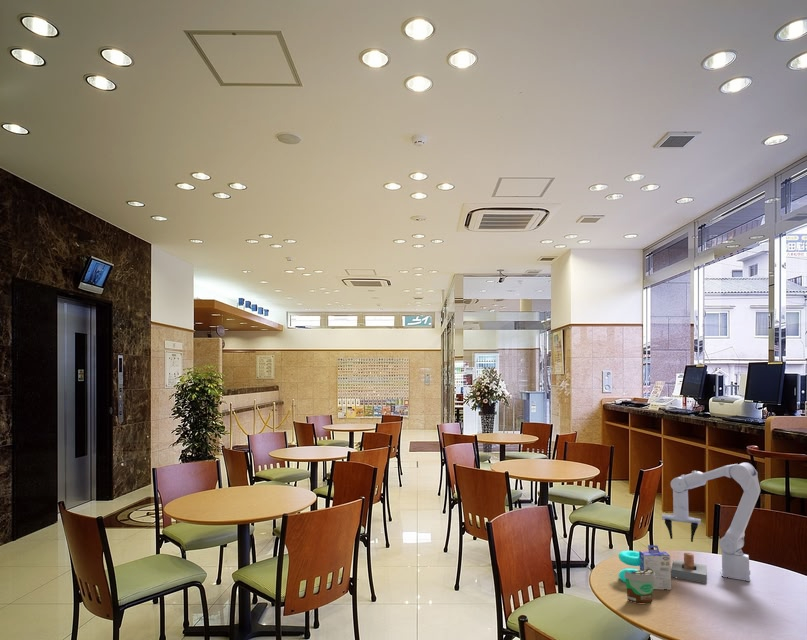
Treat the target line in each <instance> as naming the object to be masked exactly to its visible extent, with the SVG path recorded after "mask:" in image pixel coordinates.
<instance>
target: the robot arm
mask: <svg viewBox="0 0 807 640" xmlns="http://www.w3.org/2000/svg"><path fill="white" fill-rule="evenodd" d="M758 473H759V472H758V471H757V469H755V467H754V466H753V464H751V463H749V462H741V463H739V464H738V463H734V464H733V463H732V464H727V465H723V466H721V467H718V468H715V469H712V470H708V471H705V472H702V471H699V470H692V471H691V473H688V474H681V475H680V476H677V477H674V478H673V479H672V480H671V481H670V488H671V489H672V498H673V499H672V506H673V508H672V509H673V514H661V521H664V524H665V526H666V528H667V530H668V533H669V537H670V540H673V526H672V525H673V523H672V522H677V523H678V522H679V523H685V524H687V523H688V524H690V533H691V535H690V542H691V543H693V542H694V537H695V533H696V531H697V529H698V527H699V526H701V525H702V522H701V521H702V519H701V518H696V517H692V516H689V513H690V512H689V490H692V489H695V488H698V487H701V486H705V485H706V484H707V481H710V480H714V479H717V478H722V477H726V478H729V479H731V478H732V479H733V480H734V481H735V482H736V483H737V484H739V485H740V486H741V489H742V490H743V493H742V496H741V498H740V501H739V503H738V506H737V509H736V511H735V512H734V516H733V518H732V521H731V524H730V525H729V527H728V529H727V531H726V532H725V534H724V536H722V537H721V538H720V539H719V547H720V549H721V569H720V576H721V577H722V576H723V577H722V578H727V577H728V579H734V580H741V581H745V580H746V581H747V582H751V577H750V576H751V569H750V557H749V556H750V555H749V554H746V553H744V552H743V550H742V548H743V547H744V545H745V535H746V534H745V531H746V528H747V526H748V525H749V521H750V520H751V519H750V518H751V516H752V515H753V514H752V513H753V511H754V509H755V506H756V504H757V501H758V499H759V496H760V493H761V491H762V490H761V487H760V481H759V478H758V477H759V476H758ZM698 525H699V526H698Z"/></svg>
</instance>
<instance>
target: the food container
mask: <svg viewBox="0 0 807 640" xmlns="http://www.w3.org/2000/svg"><path fill="white" fill-rule="evenodd" d="M624 578H626V582H625V586H626V594H627V595H626V596H627V601H628V600H629V601H628V602H630V601H632V602H631V603H633V602H636V603H635V604H637V603H650V604H652V603H651V602H653V598H654V597H653V596H654V594H653V593H654V589H653V583H654V580H655V579H656V576H655V572H654V570H653V569H652V568H650V567H647V569H646V570H640V569H637V571H635V572H632V573H629V572H626V571H625V576H624Z"/></svg>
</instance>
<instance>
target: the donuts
mask: <svg viewBox="0 0 807 640" xmlns="http://www.w3.org/2000/svg"><path fill="white" fill-rule="evenodd" d="M618 558H619V559H618V560H619V561H621V563H623V564H625V565H628V566H632V567H640V565H641V559H640V557H639V551H636V550H622V551H620V552H619V554H618ZM637 570H638V569H635V568H624V569H621V570H620V571H619V573H618V577H619V579H620V580H621V581H622V582H624V583H626V578H624V576H625V571H626V572H629V573H632V572H635V571H637Z"/></svg>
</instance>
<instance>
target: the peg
mask: <svg viewBox="0 0 807 640" xmlns="http://www.w3.org/2000/svg"><path fill="white" fill-rule="evenodd" d="M683 562H684V569H690V570H694V563H695V555H694V554H693V553H691V552H684V553H683Z"/></svg>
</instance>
